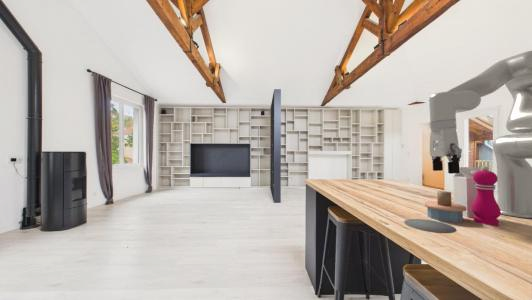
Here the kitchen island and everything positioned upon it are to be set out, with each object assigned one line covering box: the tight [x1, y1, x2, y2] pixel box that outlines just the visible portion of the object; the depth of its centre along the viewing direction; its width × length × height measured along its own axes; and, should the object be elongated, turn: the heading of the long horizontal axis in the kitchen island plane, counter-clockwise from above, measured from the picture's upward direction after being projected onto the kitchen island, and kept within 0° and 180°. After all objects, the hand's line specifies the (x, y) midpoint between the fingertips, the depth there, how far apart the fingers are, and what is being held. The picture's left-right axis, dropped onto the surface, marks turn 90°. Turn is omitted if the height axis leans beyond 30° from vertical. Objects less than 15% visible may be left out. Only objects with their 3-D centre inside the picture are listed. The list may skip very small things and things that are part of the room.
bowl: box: [426, 207, 464, 224], centre depth 81 cm, size 10×10×4 cm
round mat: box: [403, 218, 457, 234], centre depth 73 cm, size 14×14×1 cm
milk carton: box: [453, 166, 482, 219], centre depth 84 cm, size 7×7×19 cm
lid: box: [424, 190, 466, 212], centre depth 81 cm, size 12×12×6 cm
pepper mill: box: [472, 165, 502, 227], centre depth 76 cm, size 7×7×20 cm
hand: (445, 171), depth 81 cm, fingers open, 9 cm apart
